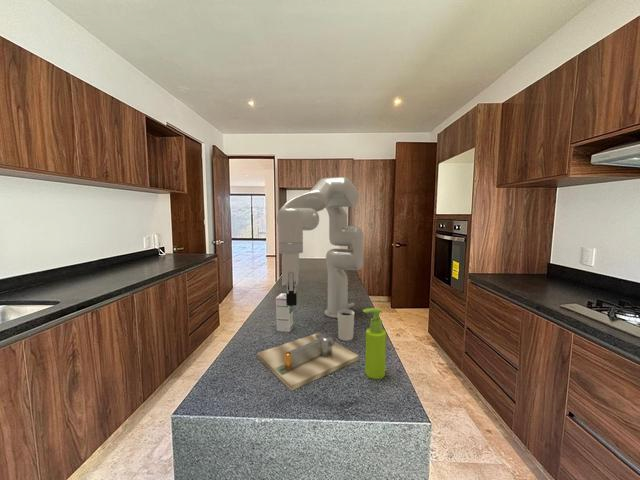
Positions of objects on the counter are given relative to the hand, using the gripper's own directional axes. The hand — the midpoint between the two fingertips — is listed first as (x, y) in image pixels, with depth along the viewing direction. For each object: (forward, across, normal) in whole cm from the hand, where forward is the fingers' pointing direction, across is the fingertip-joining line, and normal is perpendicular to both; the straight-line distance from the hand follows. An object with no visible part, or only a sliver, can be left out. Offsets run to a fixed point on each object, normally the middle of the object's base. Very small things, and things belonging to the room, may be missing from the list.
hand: (291, 304), depth 87 cm
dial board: (+19, -1, +5) cm, 20 cm away
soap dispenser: (+19, +9, +24) cm, 32 cm away
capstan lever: (+17, +3, +5) cm, 18 cm away
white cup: (+19, -16, +21) cm, 33 cm away
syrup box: (+19, -26, -3) cm, 32 cm away
